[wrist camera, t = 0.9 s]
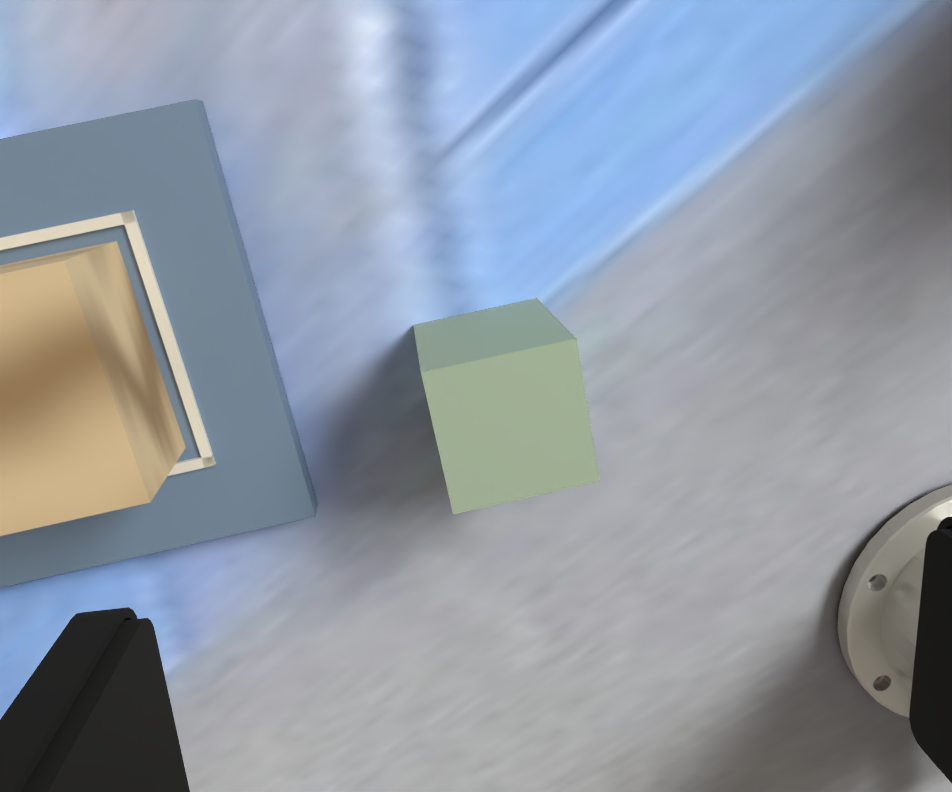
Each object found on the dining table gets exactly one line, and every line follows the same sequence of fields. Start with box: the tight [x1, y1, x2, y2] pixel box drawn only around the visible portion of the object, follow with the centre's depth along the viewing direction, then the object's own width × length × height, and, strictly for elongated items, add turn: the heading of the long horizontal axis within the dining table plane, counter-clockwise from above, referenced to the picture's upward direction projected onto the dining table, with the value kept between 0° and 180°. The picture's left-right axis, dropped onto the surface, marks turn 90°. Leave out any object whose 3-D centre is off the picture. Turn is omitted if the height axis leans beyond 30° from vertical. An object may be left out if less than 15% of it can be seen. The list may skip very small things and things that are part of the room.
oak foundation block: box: [0, 241, 186, 536], centre depth 27 cm, size 8×8×5 cm
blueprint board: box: [0, 100, 317, 588], centre depth 30 cm, size 16×16×1 cm
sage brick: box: [413, 298, 599, 515], centre depth 30 cm, size 5×5×7 cm
